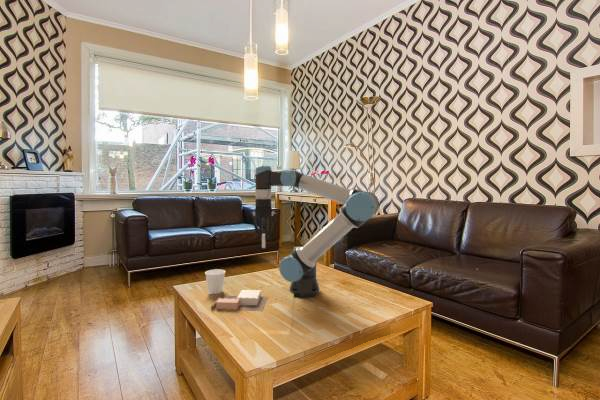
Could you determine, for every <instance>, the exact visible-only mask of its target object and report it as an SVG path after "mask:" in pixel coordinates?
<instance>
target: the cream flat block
mask: <svg viewBox="0 0 600 400" xmlns="http://www.w3.org/2000/svg"><path fill="white" fill-rule="evenodd" d="M237 296H238V297H237V298H240V305H257V304H258V302H259V300H260V297H261V296H262V290H261V289H241V290H240V292H239V294H238V295H237Z"/></svg>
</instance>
